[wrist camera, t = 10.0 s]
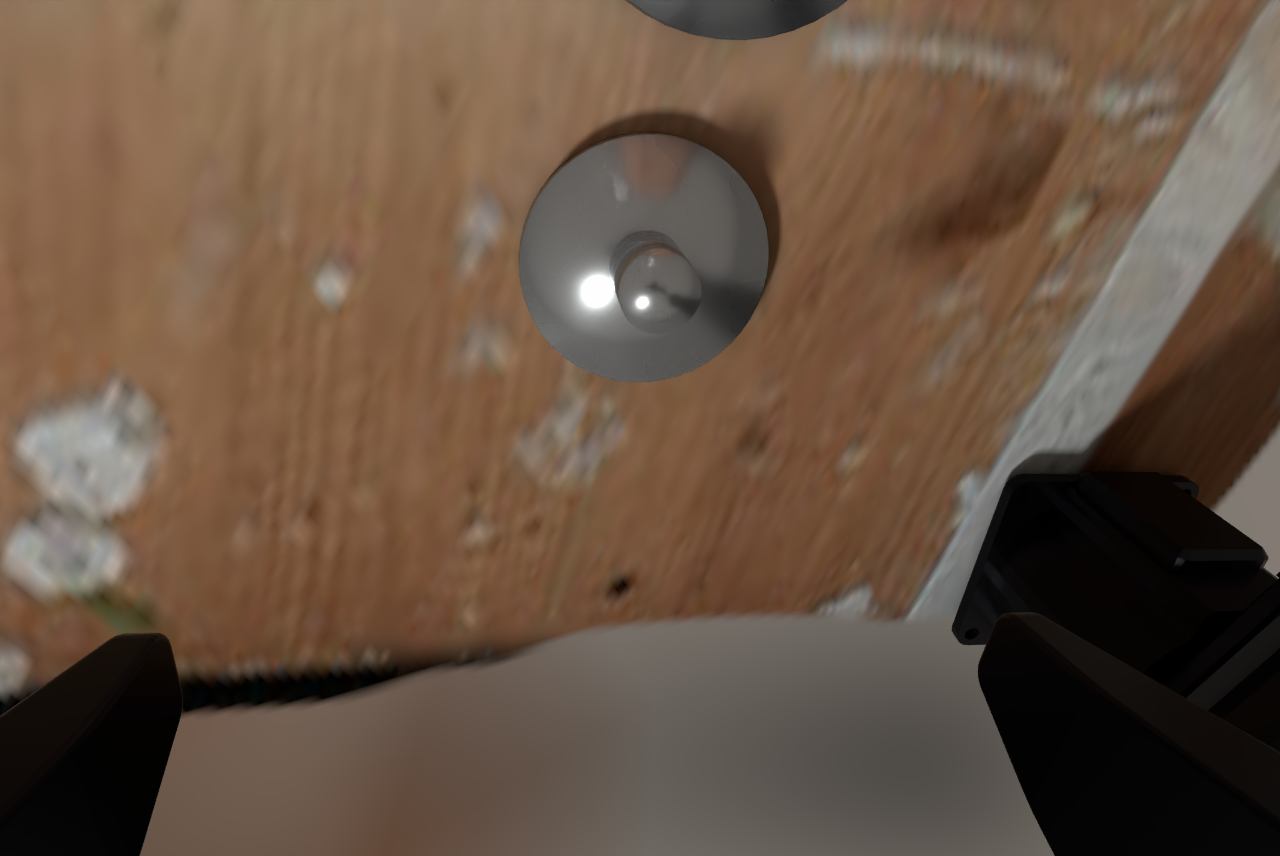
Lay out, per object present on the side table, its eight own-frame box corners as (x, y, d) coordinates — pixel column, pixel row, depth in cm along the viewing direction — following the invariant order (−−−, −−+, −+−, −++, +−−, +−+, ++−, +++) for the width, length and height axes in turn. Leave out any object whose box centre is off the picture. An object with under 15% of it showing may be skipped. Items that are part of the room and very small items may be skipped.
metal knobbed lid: (742, 379, 21) (768, 420, 19) (516, 372, 20) (516, 415, 18) (784, 143, 18) (820, 161, 16) (522, 120, 17) (524, 136, 15)
